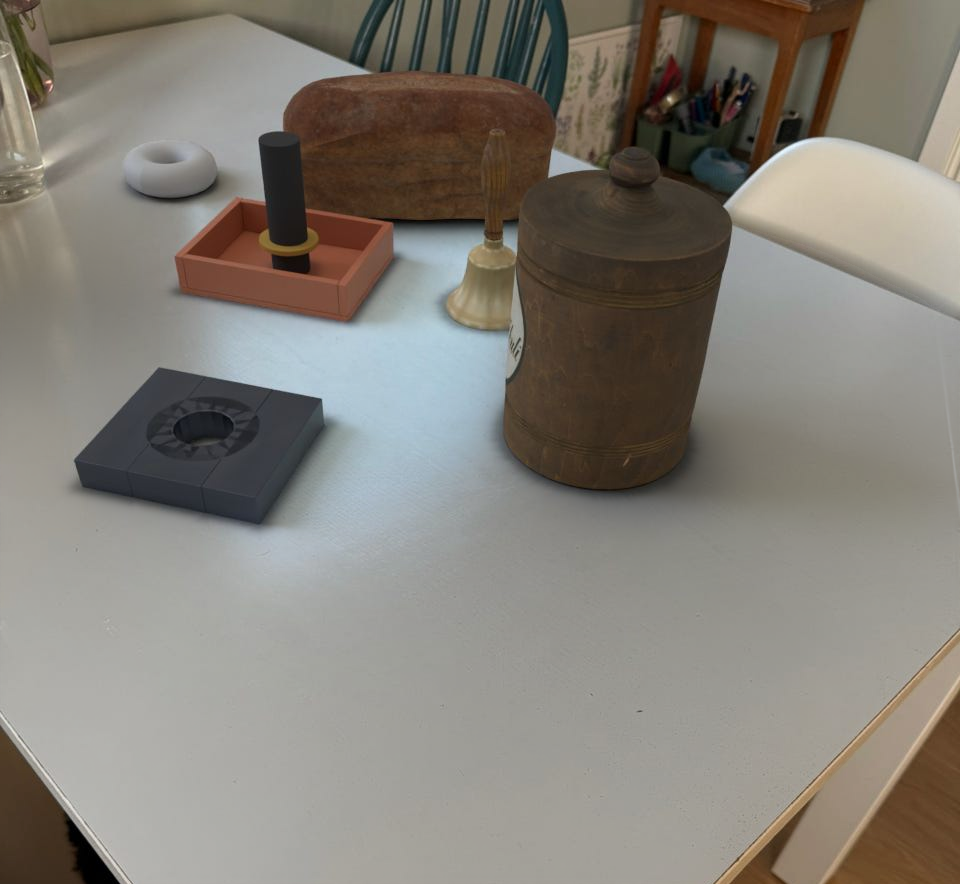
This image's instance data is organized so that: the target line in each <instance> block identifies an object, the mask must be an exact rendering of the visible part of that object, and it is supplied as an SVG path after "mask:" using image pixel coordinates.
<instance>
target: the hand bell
mask: <svg viewBox="0 0 960 884" xmlns="http://www.w3.org/2000/svg"><path fill="white" fill-rule="evenodd" d="M510 179H511V157H510V153H509V149H508V145H507V141H506V135H505V131H503V130H502V129H493V130H491V131H490V134H489V139H488V142H487V145H486V148H485V150H484V154H483V158H482V163H481V184H482V191H483V195H484V199H485V204H486V217H485V219H484V230H483V236H484V239H483V243H482V244H479V245H476V246H475V247H473V248H471V250H470V251H469V253H468V255H467V263H466V268H465V271H464V275H463V278H462V281H461V282H460V284H459V286H458V287H457V288H455V289H454V290H453V291H452V292H451V293H450V295H449V296H448V298H447V299H446V301H445V310H446V312H447V314H448V316H449V317H450V318H451V319H452V320H454V322H456V323H458V324H459V325H461V326H464V327H467V328H469V329H473V330H478V331H484V332H500V331H502V332H503V331H509V329H510V319H511V310H512V299H513V288H514V277H515V267H516V257H517V253H516V252H515V251H514V250H513V249H511V248H510V247H509V246H506V245H504V230H503V229H504V220H503V207H504V203H505V199H506V197H507V194H508V190H509V186H510Z"/></svg>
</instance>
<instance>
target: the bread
mask: <svg viewBox="0 0 960 884" xmlns="http://www.w3.org/2000/svg"><path fill="white" fill-rule="evenodd" d="M493 129H502V130H503V131H505V135H506V141H507V145H508V149H509V153H510V157H511V179H510V186H509V190H508V194H507V197H506V199H505V203H504V207H503V221H512V220H519V214H520V206H521V201H522V199H523V197H524V195H525V194H526V192H527V191H528V190H529V189H530V188H531V187H533V186H534V185H536V184H537V183H539V182H541V181H542V180H545V179H547V178H549V174H550V166H551V158H552V151H553V147H554V144H555V140H556V136H557V121H556V120H555V117H554V113H553V111H552V108H551V107H550V105H549V104H548V102H547V101H546V100H545V98H543V97H542V95H541V94H540V93H539V92H537V91H536V90H534V89H532V88H530V87H528V86H526V85H524V84H522V83H518V82H516V81H512V80H509V79H505V78H500V77H495V76H490V75H489V76H488V75H476V74H466V73H450V72H439V71H438V72H437V71H425V70H399V71H384V72H383V71H382V72H373V73H371V72H370V73H363V74H362V73H361V74H351V75H342V76H334V77H326V78H325V77H324V78H322V79H318V80H315V81H312V82H309V83H308V84H306V85H304V86H302V87H301V88H300V89H299V90H298V91H297V92H296V93H294V94H293V95H292V97H291V99H290V100H289V102H288V103H287V105H286V107H285V109H284V111H283V113H282V131H284V132H290V133H293V134H296V135H297V136H298V137H299V139H300V149H301V161H302V173H303V185H304V197H305V208H306V209H312V210H318V211H324V212H330V213H337V214H343V215H349V216H355V217H361V218H367V219H393V220H394V219H395V220H416V221H427V220H428V221H429V220H430V221H432V220H446V219H449V220H450V219H451V220H452V219H468V220H469V219H470V220H475V219H476V220H485V217H486V204H485V199H484V195H483V191H482V184H481V163H482V158H483V154H484V150H485V148H486V145H487V142H488V139H489V134H490V131H491V130H493Z"/></svg>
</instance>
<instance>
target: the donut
mask: <svg viewBox="0 0 960 884" xmlns="http://www.w3.org/2000/svg"><path fill="white" fill-rule="evenodd" d="M122 171H123V176H124V178H125V180H126V182H127V183H128V185H130V186H131V187H132V188H133V189H134V190H136V191H137V192H139V193H142V194H144V195H146V196H150V197H155V198H161V199H175V198H176V199H179V198H185V197H189V196H194V195H196V194H199V193H202V192H203V191H206V190H207V189H209V187H210V186H211V185H212V184H214V182H215V179H216V177H217V174H218V165H217V162H216V160H215V157H214V156H213V154H212V152H210V151H209V150H208V149H207V148H205V147H204V146H202V145H200V144H197V143H195V142H192V141H188V140H182V139H158V140H152V141H148V142H144V143H142V144H140V145H137V146H136V147H134V148H133V149H131V150H129V152H128V153H127V154H126V156H125V158H124V159H123V162H122Z"/></svg>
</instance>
